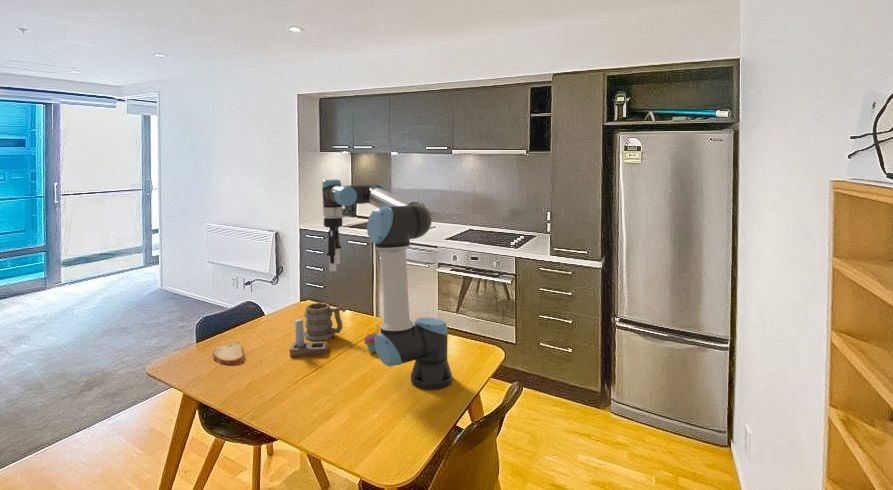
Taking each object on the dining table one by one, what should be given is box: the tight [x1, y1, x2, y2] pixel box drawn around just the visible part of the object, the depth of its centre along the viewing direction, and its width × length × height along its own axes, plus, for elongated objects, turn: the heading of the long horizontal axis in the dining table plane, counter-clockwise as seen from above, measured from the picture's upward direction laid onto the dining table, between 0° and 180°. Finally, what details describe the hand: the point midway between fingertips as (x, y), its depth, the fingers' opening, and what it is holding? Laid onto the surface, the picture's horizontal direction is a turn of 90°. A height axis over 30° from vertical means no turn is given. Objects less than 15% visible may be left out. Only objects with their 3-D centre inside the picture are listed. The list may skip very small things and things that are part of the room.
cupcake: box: [363, 322, 380, 353], centre depth 209 cm, size 9×8×12 cm
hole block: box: [289, 341, 329, 358], centre depth 208 cm, size 8×14×3 cm, turn 96°
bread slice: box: [212, 341, 246, 365], centre depth 205 cm, size 18×18×4 cm
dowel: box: [294, 318, 305, 348], centre depth 206 cm, size 3×3×14 cm
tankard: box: [304, 302, 347, 342], centre depth 225 cm, size 20×13×15 cm, turn 73°
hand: (334, 267), depth 209 cm, fingers open, 13 cm apart
